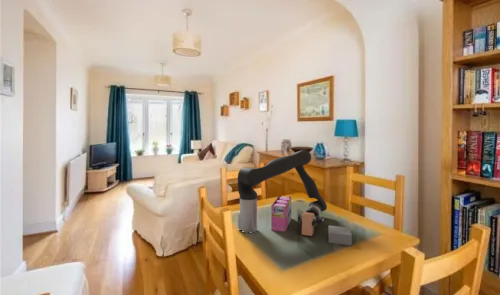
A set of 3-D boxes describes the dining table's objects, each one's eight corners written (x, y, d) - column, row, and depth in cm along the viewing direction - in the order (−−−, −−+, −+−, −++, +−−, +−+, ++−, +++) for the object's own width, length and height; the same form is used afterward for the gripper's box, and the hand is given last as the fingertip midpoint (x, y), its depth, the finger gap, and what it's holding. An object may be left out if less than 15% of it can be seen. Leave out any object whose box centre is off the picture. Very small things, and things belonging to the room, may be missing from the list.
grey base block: (328, 243, 115) (328, 232, 115) (328, 235, 125) (328, 225, 124) (351, 246, 112) (351, 235, 112) (349, 237, 122) (349, 227, 122)
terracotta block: (301, 234, 123) (301, 214, 123) (303, 231, 128) (304, 212, 127) (311, 236, 121) (312, 216, 121) (313, 232, 126) (313, 213, 125)
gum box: (279, 216, 153) (279, 195, 153) (291, 217, 151) (292, 196, 151) (270, 230, 131) (270, 205, 130) (285, 232, 128) (285, 206, 128)
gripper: (300, 205, 140) (292, 214, 125) (326, 208, 134) (321, 217, 119) (300, 218, 140) (292, 228, 125) (326, 222, 134) (321, 233, 119)
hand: (306, 223), depth 122 cm, fingers closed on terracotta block, 5 cm apart
